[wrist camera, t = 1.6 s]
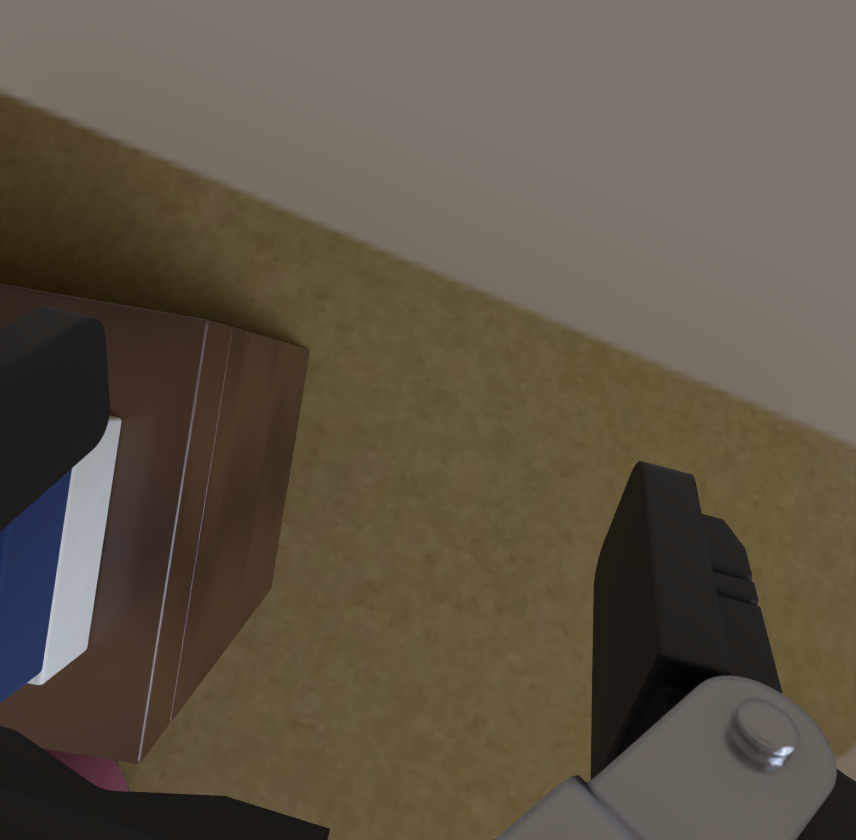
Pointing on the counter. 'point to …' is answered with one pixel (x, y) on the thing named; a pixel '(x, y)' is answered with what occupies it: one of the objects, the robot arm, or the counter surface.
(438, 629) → the counter surface
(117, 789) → the flower pot
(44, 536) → the boot
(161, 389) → the shoe bench
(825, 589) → the counter surface
